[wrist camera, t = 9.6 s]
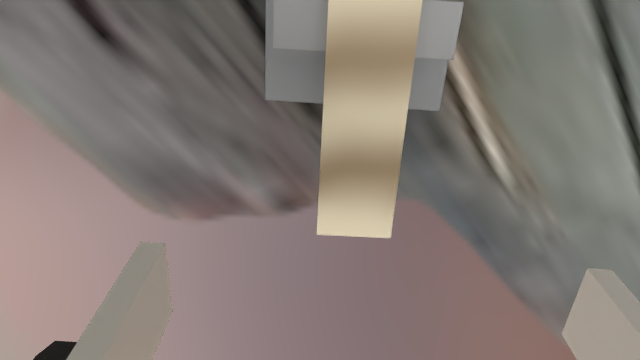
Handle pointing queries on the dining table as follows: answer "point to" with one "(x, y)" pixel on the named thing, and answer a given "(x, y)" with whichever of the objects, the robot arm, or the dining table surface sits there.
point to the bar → (365, 113)
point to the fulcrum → (310, 50)
